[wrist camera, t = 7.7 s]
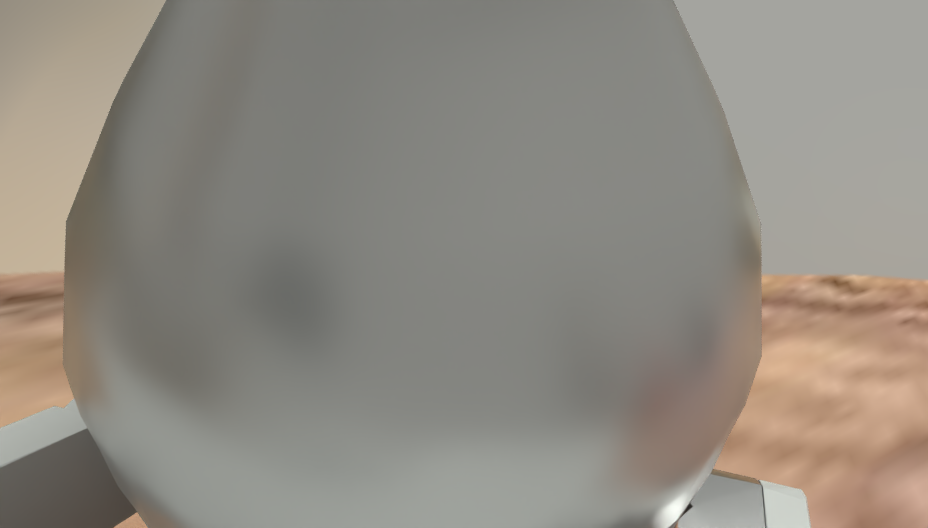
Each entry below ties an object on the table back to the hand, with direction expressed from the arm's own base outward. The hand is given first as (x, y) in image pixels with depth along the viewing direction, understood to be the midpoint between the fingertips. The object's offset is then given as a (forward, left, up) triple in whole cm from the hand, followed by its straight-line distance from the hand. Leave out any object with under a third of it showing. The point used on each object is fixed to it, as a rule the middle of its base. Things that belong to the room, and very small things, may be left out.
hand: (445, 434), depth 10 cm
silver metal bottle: (0, -1, -11) cm, 11 cm away
